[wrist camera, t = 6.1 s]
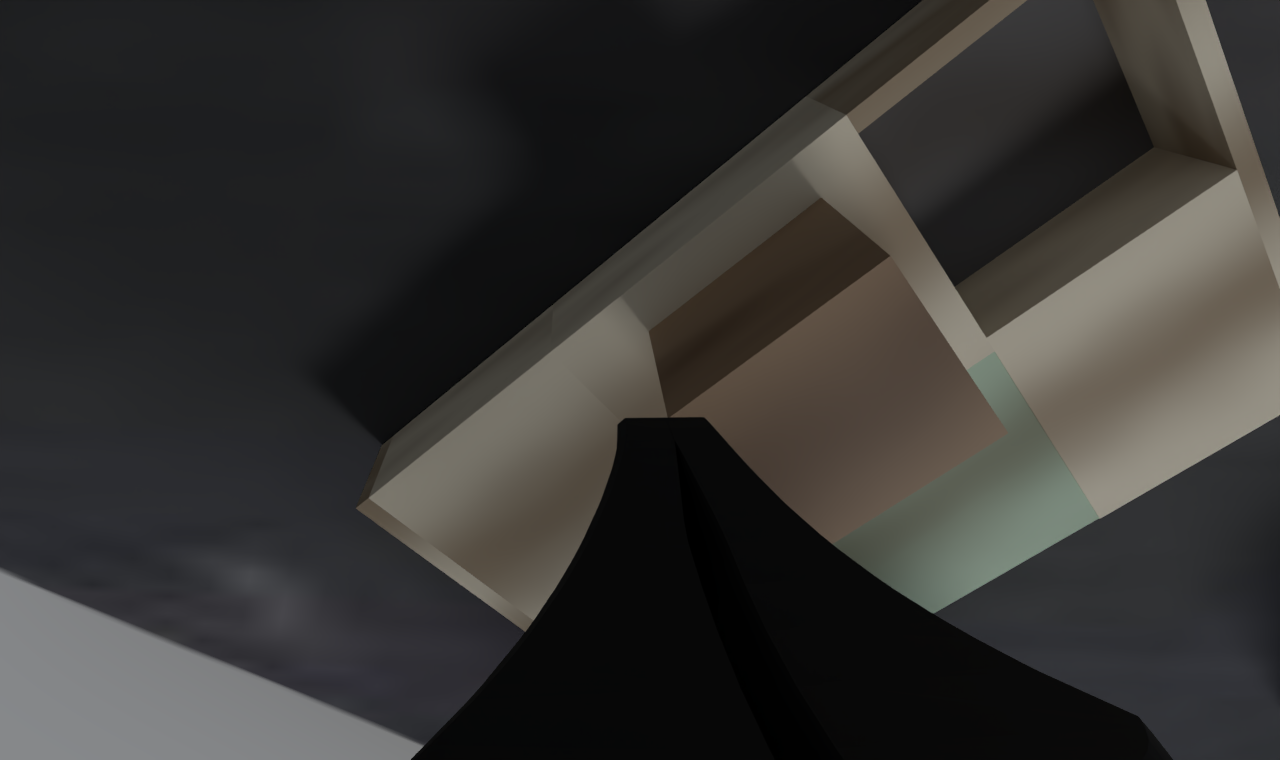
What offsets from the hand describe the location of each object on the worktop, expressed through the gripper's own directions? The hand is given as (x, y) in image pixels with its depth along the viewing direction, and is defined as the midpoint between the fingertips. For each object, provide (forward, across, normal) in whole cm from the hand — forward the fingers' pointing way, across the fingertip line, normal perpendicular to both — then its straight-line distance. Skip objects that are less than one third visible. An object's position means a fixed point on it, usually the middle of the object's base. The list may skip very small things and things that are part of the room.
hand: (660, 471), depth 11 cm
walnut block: (+7, -4, +1) cm, 8 cm away
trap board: (+10, -6, +4) cm, 12 cm away
